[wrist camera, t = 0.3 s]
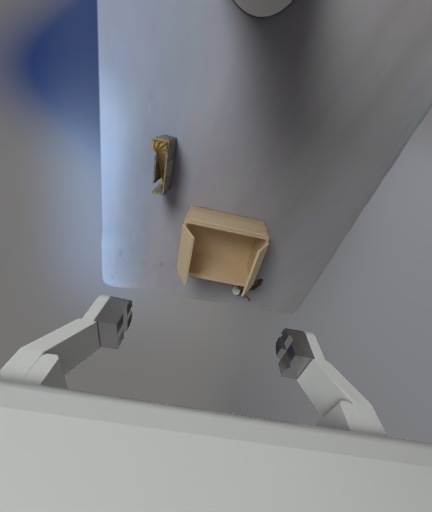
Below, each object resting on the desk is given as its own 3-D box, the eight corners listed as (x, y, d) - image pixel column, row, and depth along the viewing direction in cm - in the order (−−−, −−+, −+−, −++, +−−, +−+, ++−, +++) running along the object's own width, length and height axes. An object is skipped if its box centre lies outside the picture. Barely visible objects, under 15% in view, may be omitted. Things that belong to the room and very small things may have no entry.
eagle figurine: (255, 294, 70) (267, 277, 64) (244, 306, 66) (256, 289, 60) (237, 279, 73) (248, 261, 67) (225, 290, 68) (235, 272, 62)
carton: (191, 203, 56) (184, 217, 48) (264, 218, 57) (270, 235, 49) (183, 254, 65) (176, 274, 56) (247, 267, 66) (250, 288, 58)
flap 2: (267, 242, 50) (257, 250, 45) (269, 243, 49) (259, 252, 45) (251, 284, 56) (241, 295, 52) (252, 285, 56) (243, 296, 52)
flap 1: (182, 224, 48) (192, 238, 44) (184, 224, 48) (194, 237, 44) (176, 270, 55) (184, 285, 51) (178, 269, 55) (186, 285, 51)
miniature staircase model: (163, 134, 48) (150, 136, 40) (177, 137, 49) (166, 140, 40) (159, 183, 54) (146, 194, 46) (170, 186, 55) (160, 198, 46)
